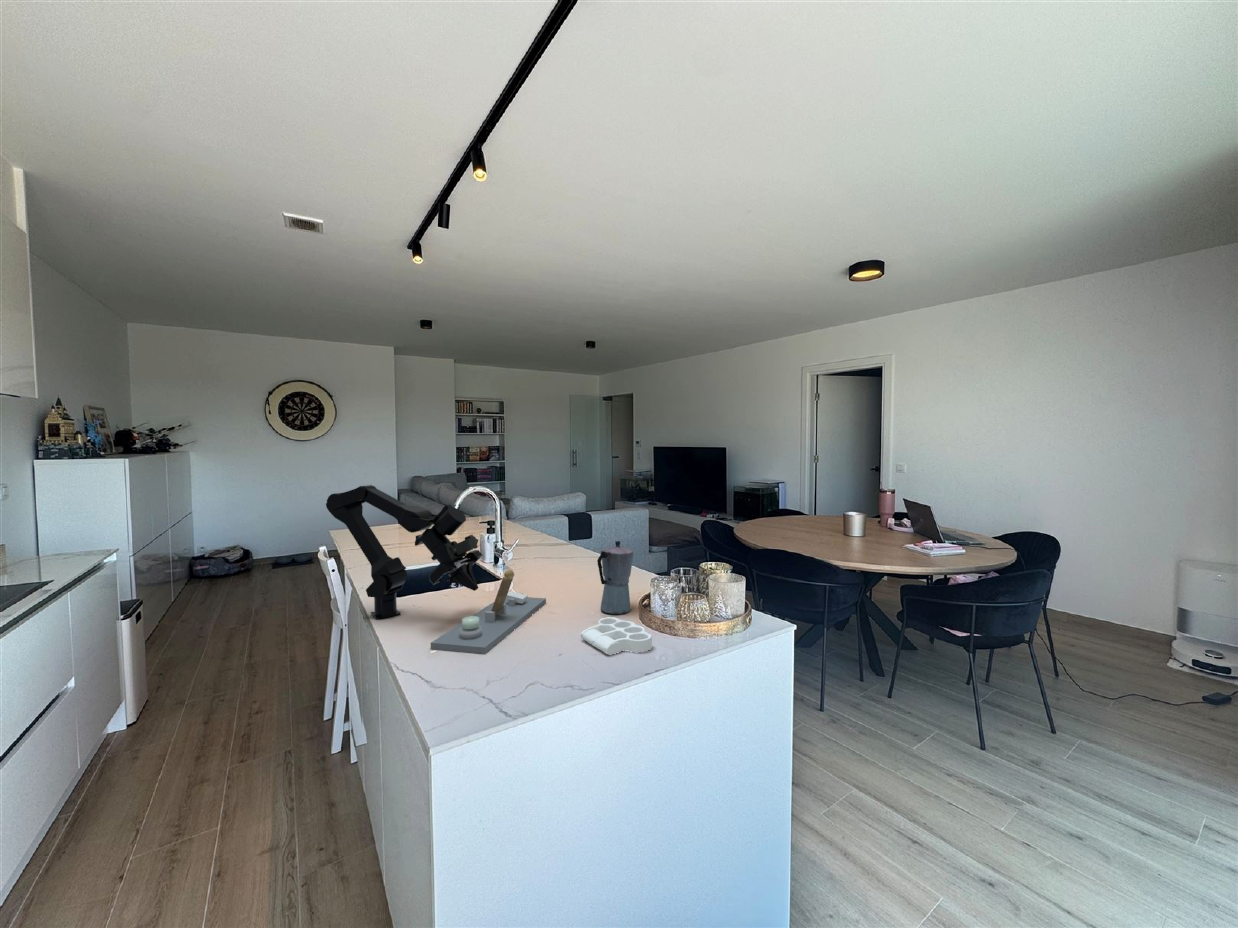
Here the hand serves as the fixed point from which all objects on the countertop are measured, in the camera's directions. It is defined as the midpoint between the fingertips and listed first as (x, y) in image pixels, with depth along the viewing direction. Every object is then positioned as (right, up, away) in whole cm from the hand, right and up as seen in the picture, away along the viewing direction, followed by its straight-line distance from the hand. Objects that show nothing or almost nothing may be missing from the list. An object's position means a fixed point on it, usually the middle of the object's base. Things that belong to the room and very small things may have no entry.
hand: (476, 589), depth 134 cm
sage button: (+3, -6, -14) cm, 15 cm away
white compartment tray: (+39, -10, -14) cm, 42 cm away
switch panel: (+5, -9, -1) cm, 10 cm away
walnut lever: (+5, -6, -1) cm, 8 cm away
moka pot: (+38, -9, +8) cm, 40 cm away
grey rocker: (+8, -6, +12) cm, 15 cm away
